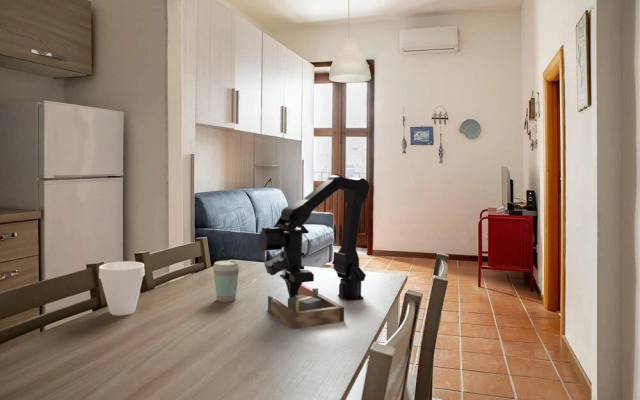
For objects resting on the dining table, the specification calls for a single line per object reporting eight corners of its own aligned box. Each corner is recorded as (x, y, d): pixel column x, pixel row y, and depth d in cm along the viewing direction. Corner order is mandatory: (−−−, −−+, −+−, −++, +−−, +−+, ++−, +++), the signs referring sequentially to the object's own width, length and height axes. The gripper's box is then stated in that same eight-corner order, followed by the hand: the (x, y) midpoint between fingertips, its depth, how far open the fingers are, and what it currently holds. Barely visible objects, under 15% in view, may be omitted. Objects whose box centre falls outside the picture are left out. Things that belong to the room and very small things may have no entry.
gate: (319, 304, 149) (319, 287, 148) (313, 305, 148) (313, 288, 147) (299, 293, 162) (299, 277, 162) (294, 293, 161) (294, 277, 161)
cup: (154, 309, 142) (153, 263, 141) (121, 321, 131) (120, 271, 130) (123, 303, 148) (123, 259, 147) (89, 314, 136) (88, 267, 136)
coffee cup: (233, 304, 149) (234, 265, 148) (208, 302, 151) (208, 264, 150) (243, 296, 158) (243, 260, 157) (219, 295, 159) (219, 259, 158)
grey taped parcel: (301, 305, 149) (301, 294, 148) (321, 310, 143) (321, 299, 143) (287, 309, 144) (287, 298, 144) (307, 315, 139) (307, 303, 139)
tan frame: (315, 304, 150) (316, 290, 150) (344, 321, 134) (344, 305, 134) (267, 310, 143) (267, 295, 143) (291, 329, 127) (291, 312, 127)
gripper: (257, 245, 150) (256, 294, 151) (279, 255, 134) (278, 310, 135) (290, 243, 155) (289, 290, 156) (315, 253, 139) (314, 306, 140)
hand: (291, 298), depth 147 cm, fingers closed
